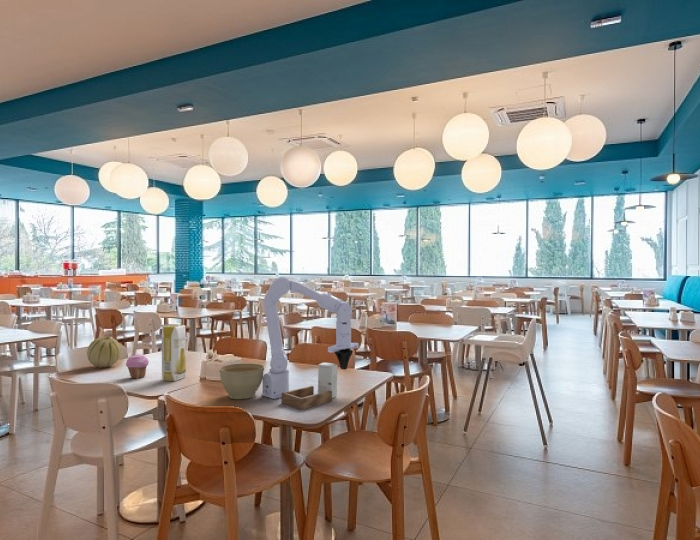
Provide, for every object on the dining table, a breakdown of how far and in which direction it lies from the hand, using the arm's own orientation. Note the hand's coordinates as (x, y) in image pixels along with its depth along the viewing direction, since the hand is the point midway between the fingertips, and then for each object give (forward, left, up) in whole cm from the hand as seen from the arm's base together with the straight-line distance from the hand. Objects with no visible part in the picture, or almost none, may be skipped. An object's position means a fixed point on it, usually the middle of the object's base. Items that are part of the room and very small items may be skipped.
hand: (343, 369), depth 180 cm
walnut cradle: (-18, 0, -9) cm, 20 cm away
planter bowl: (-30, +23, -9) cm, 39 cm away
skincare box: (-8, 0, -9) cm, 12 cm away
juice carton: (-36, +67, -9) cm, 77 cm away
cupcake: (-46, +81, -9) cm, 94 cm away
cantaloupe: (-49, +114, -9) cm, 124 cm away
